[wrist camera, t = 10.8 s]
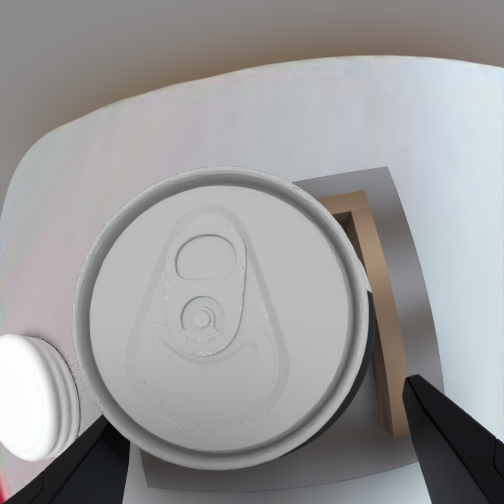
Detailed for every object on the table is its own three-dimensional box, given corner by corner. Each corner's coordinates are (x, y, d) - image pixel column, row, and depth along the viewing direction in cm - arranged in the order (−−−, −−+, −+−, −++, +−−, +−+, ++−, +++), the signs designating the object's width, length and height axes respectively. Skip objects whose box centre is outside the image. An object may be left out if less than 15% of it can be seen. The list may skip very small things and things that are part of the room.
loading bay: (442, 446, 13) (470, 464, 10) (154, 482, 15) (123, 502, 12) (384, 174, 19) (396, 138, 16) (131, 226, 22) (101, 201, 18)
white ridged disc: (8, 333, 21) (-20, 327, 18) (82, 343, 20) (49, 338, 16) (12, 437, 18) (-16, 439, 15) (88, 470, 16) (58, 480, 13)
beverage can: (213, 399, 16) (56, 448, 5) (215, 284, 18) (84, 172, 7) (335, 400, 15) (389, 491, 4) (332, 280, 17) (367, 137, 6)
